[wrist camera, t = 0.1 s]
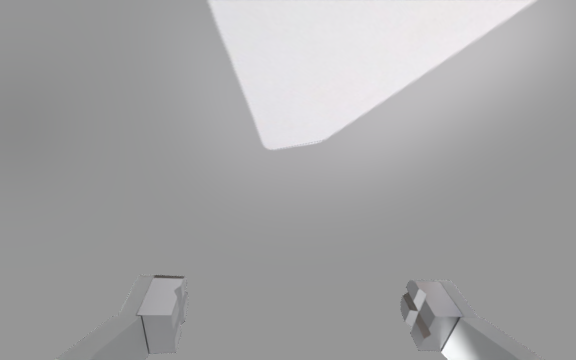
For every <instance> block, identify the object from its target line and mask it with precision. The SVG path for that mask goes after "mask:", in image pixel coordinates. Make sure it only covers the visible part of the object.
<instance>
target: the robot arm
mask: <svg viewBox="0 0 576 360" xmlns="http://www.w3.org/2000/svg"><path fill="white" fill-rule="evenodd" d="M186 286H187V280H186V277H185V276H165V275H140V276H139V277H138V278H137V279H136V281H135V283H134V285H133V287H132V289H131V290H130V292H129V294H128V296H127V298H126V300H125V302H124V304H123V306H122V308H121V310H120V312H119V314H118V316H112V317H111V318H109V319H108V320H107V321H106V322H104V323H103V324H102V325H100V326H99V327H97V328H96V329H95V330H94V331H92V332H91V333H89V334H88V335H87V336H86V337H84V338H83V339H82V340H80V341H79V342H77V343H76V344H75V345H73V346H72V347H71V348H69V349H68V350H67V351H65V352H64V353H63V354H62V355H60V356H59V357H58V358H56V359H55V360H145V359H146V358H147V357H148V355H149V354H158V353H176V351H177V348H178V344H179V340H180V337H181V325H182V324H183V323H184V322H185V318H186V314H187V308H188V293H187V292H186V291H185V289H186ZM406 288H407V290H408V292H407V293H406V294H404V295H403V296H402V299H401V312H402V316H403V318H404V321H405V322H406V323H407V324H408V325H409V326H410V327H412V328H411V332H410V334H411V336H412V338H413V340H414V342H415V344H416V346H417V348H418V350H419V351H442V352H441V353H442V354H443V355H444V356H445V357H446V358H447V359H448V360H544V359H543V358H542V357H540V356H539V355H537V354H535V353H534V352H533V351H531V350H530V349H528V348H527V347H525V346H524V345H522V344H521V343H519V342H518V341H516V340H515V339H513V338H512V337H510V336H509V335H507V334H506V333H505V332H503V331H501V330H500V329H499V328H497V327H496V326H494V325H493V324H491V323H490V322H488V321H487V320H485V319H484V318H482V317H480V318H479V317H478V316H477V315H476V314H475V312H474V311H473V309H472V308H471V307H470V305H469V304H468V302H467V301H466V300H465V298H464V297H463V296H462V294H461V293H460V292H459V290H458V289H457V288H456V286H455V285H454V283H452V282H451V281H450V280H410V281H409V282H408V284H407V286H406Z"/></svg>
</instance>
